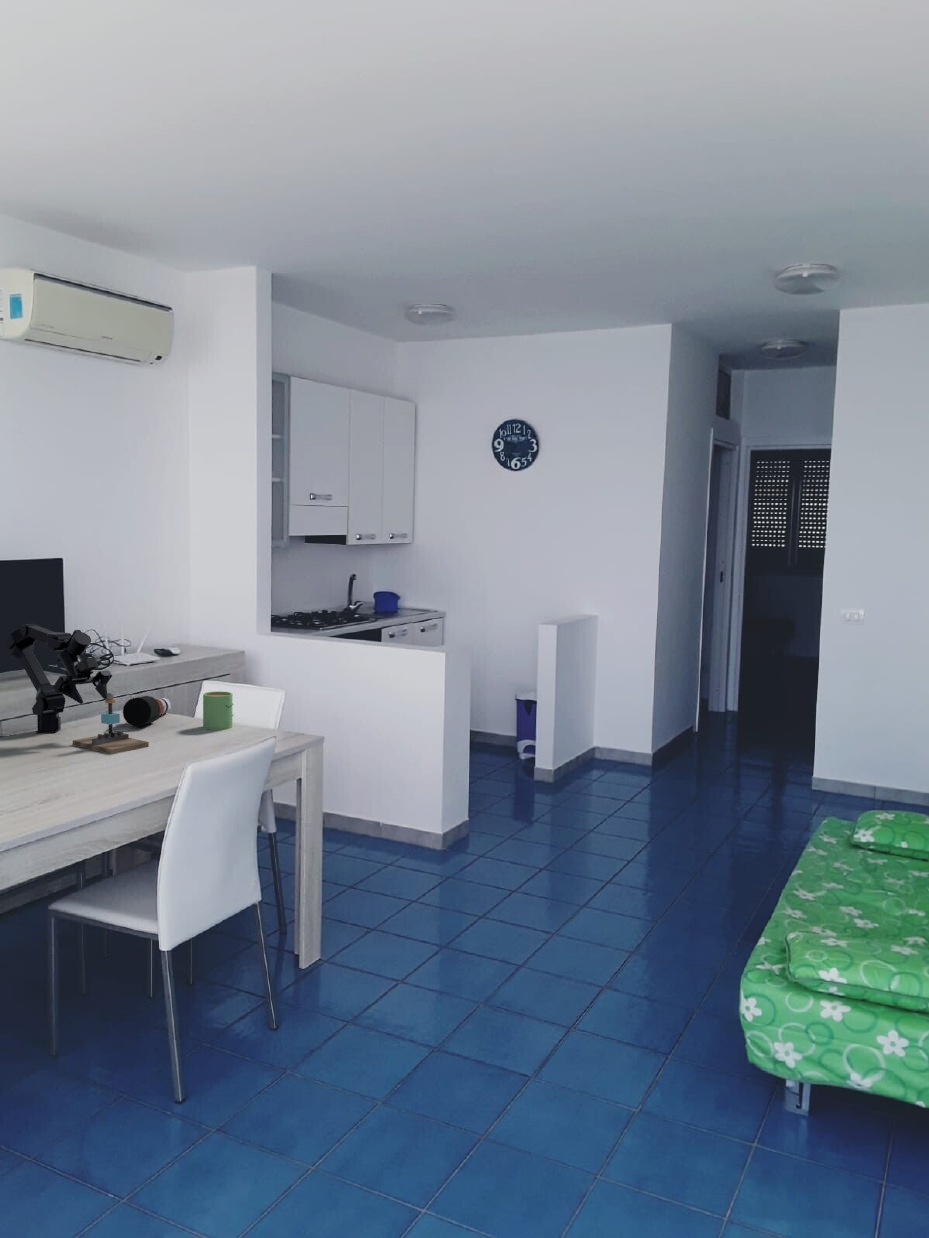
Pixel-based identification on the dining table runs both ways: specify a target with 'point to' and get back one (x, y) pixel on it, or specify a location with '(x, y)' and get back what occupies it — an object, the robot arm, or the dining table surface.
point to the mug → (217, 710)
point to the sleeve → (110, 718)
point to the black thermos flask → (145, 710)
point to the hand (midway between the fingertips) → (94, 701)
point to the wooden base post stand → (111, 738)
